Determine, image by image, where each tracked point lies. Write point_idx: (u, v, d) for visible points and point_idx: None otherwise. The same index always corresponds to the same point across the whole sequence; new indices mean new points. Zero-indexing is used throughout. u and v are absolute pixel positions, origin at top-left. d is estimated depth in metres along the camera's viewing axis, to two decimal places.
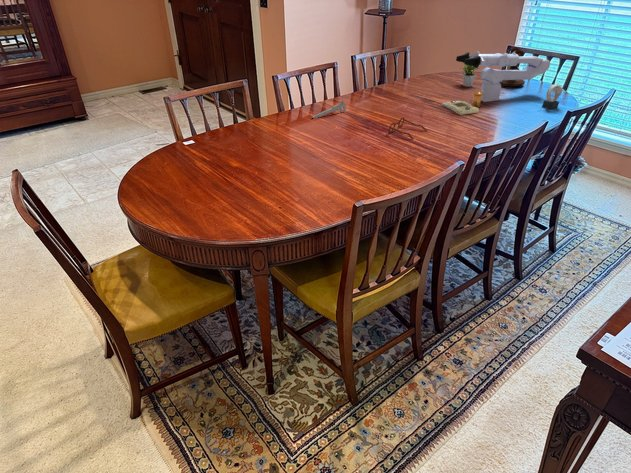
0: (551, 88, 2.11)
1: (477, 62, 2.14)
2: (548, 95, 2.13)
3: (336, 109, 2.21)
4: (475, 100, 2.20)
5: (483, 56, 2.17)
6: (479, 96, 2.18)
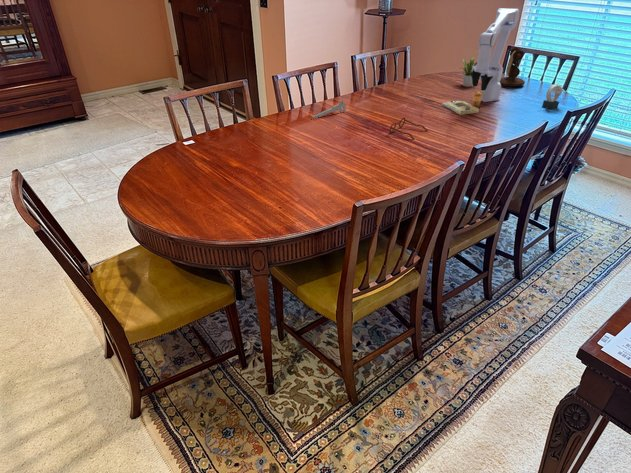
0: (551, 88, 2.11)
1: None
2: (548, 95, 2.13)
3: (336, 109, 2.21)
4: (475, 100, 2.20)
5: (481, 65, 2.10)
6: (479, 96, 2.18)
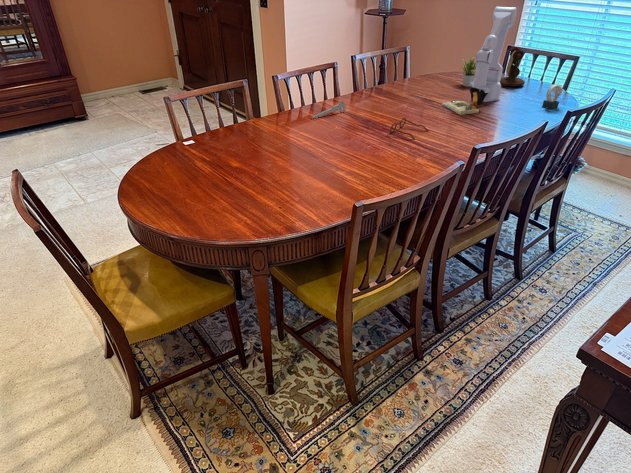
0: (551, 88, 2.11)
1: None
2: (548, 95, 2.13)
3: (336, 109, 2.21)
4: (475, 100, 2.20)
5: (478, 82, 2.14)
6: None
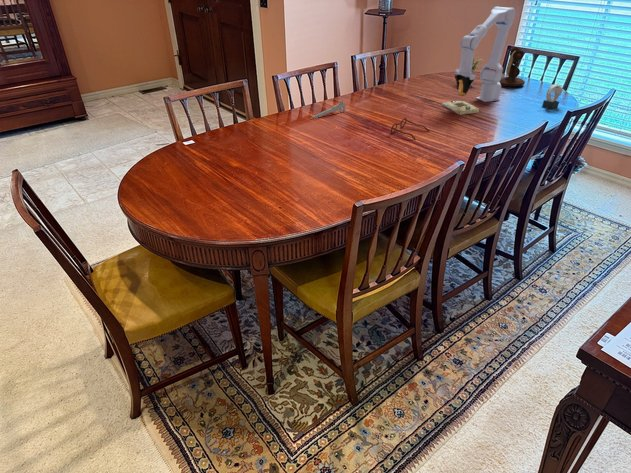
0: (551, 88, 2.11)
1: None
2: (548, 95, 2.13)
3: (336, 109, 2.21)
4: (461, 88, 2.15)
5: (464, 68, 2.09)
6: None
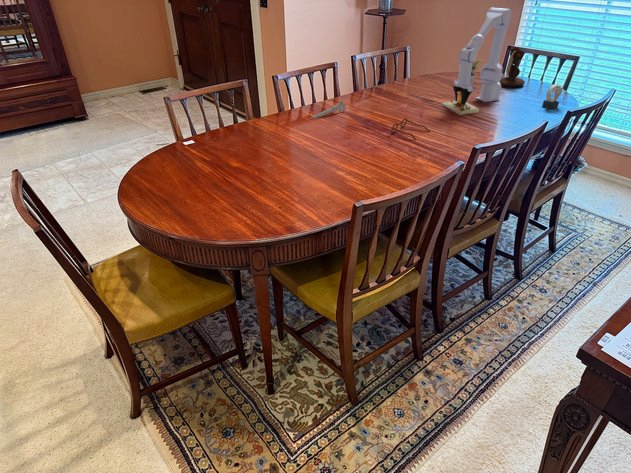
0: (551, 88, 2.11)
1: None
2: (548, 95, 2.13)
3: (336, 109, 2.21)
4: (459, 99, 2.18)
5: (462, 80, 2.12)
6: None
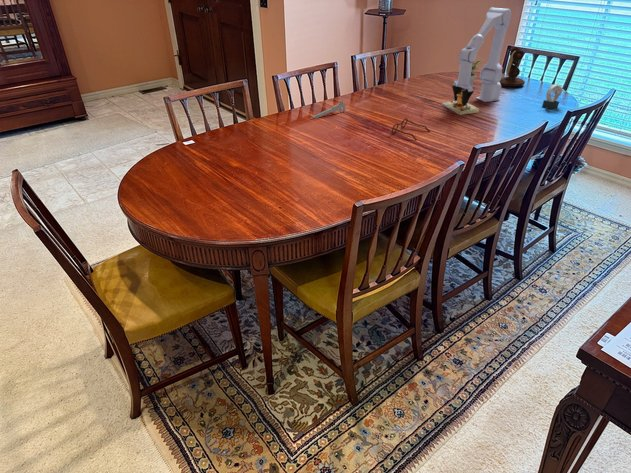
0: (551, 88, 2.11)
1: None
2: (548, 95, 2.13)
3: (336, 109, 2.21)
4: (459, 102, 2.18)
5: (462, 80, 2.12)
6: None
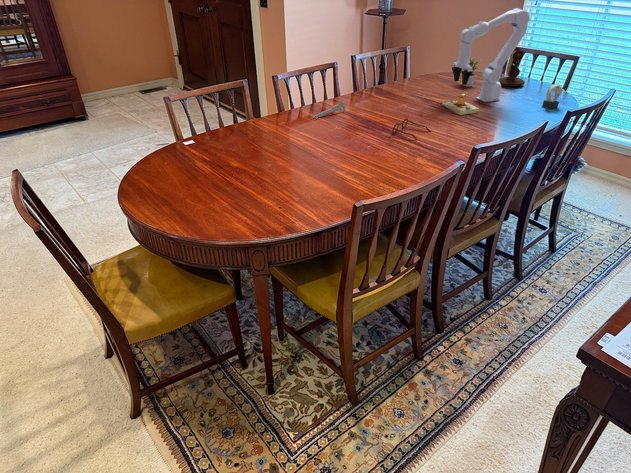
0: (551, 88, 2.11)
1: None
2: (548, 95, 2.13)
3: (336, 109, 2.21)
4: (459, 102, 2.18)
5: (461, 61, 2.19)
6: (463, 98, 2.17)
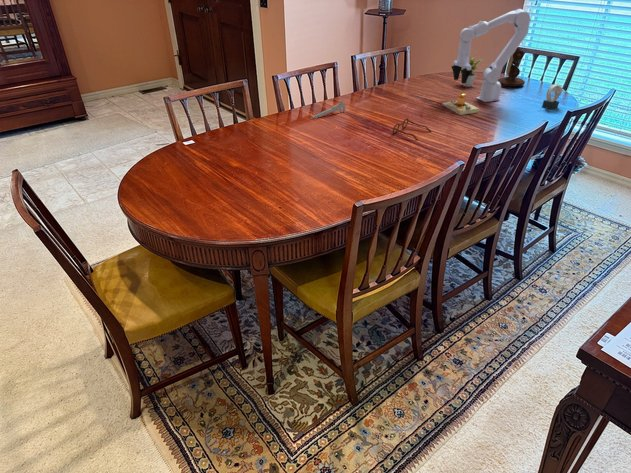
0: (551, 88, 2.11)
1: None
2: (548, 95, 2.13)
3: (336, 109, 2.21)
4: (459, 102, 2.18)
5: (461, 60, 2.21)
6: (463, 98, 2.17)
